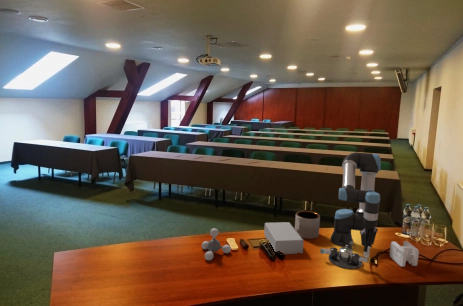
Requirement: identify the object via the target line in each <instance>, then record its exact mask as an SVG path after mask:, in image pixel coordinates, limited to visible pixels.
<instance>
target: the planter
mask: <svg viewBox="0 0 463 306" xmlns="http://www.w3.org/2000/svg"><path fill="white" fill-rule="evenodd" d="M294 220H295V221H294V229H295V230H296V232H297V233H298V234H299V235H300V237H301V238H302V239H303V240H304V239H306V240H313V239H317V238H318V237H319V235H320V222H321V215H320V214H319V213H317V212H314V211H311V210H300V211H297V212H296V213H295V219H294Z"/></svg>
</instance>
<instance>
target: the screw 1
mask: <svg viewBox="0 0 463 306" xmlns="http://www.w3.org/2000/svg"><path fill="white" fill-rule="evenodd" d="M353 246H354V241H353V242H352V241H350V242H349V244H345V246H344V247H347V248H350V249H352V250H353Z"/></svg>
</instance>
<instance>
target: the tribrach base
mask: <svg viewBox="0 0 463 306" xmlns="http://www.w3.org/2000/svg"><path fill="white" fill-rule="evenodd" d="M338 249H339V251H338V252H337V259H336V260H333V259H330V254H328V261H329V262H330V263H331V264H333V265H334V266H336V267H338V268H341V269H345V270H356V269H360V268H361V267H362V266H363V262H362V261H359V265H358V266H354V265H352V264H351V258H352V253H354V250H353V248H352V249H350V248H347V247H345V246H340V247H339V248H338Z"/></svg>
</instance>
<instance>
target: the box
mask: <svg viewBox="0 0 463 306" xmlns="http://www.w3.org/2000/svg"><path fill="white" fill-rule="evenodd" d="M263 234H264V237H265V239H266V240H267V239H268V240H269V241H270V243H271V245H272V247H273V249H274V251H275V252H277V251H280V252H282V253H284V254H283V255H292V254H295V255H297V253H301V254H303V252H304V238H301V237H300V235H299V234H298V233H297V232H296V230H295V227H293V225H292V223H290V222H289V221H288V222H286V221H285V222H283V221H281V222H279V221H278V222H265V223H264V233H263Z"/></svg>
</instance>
